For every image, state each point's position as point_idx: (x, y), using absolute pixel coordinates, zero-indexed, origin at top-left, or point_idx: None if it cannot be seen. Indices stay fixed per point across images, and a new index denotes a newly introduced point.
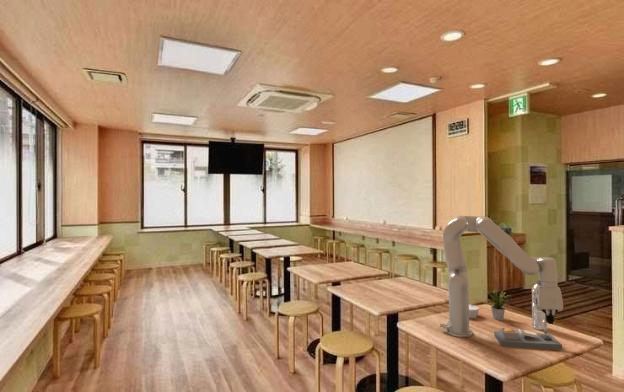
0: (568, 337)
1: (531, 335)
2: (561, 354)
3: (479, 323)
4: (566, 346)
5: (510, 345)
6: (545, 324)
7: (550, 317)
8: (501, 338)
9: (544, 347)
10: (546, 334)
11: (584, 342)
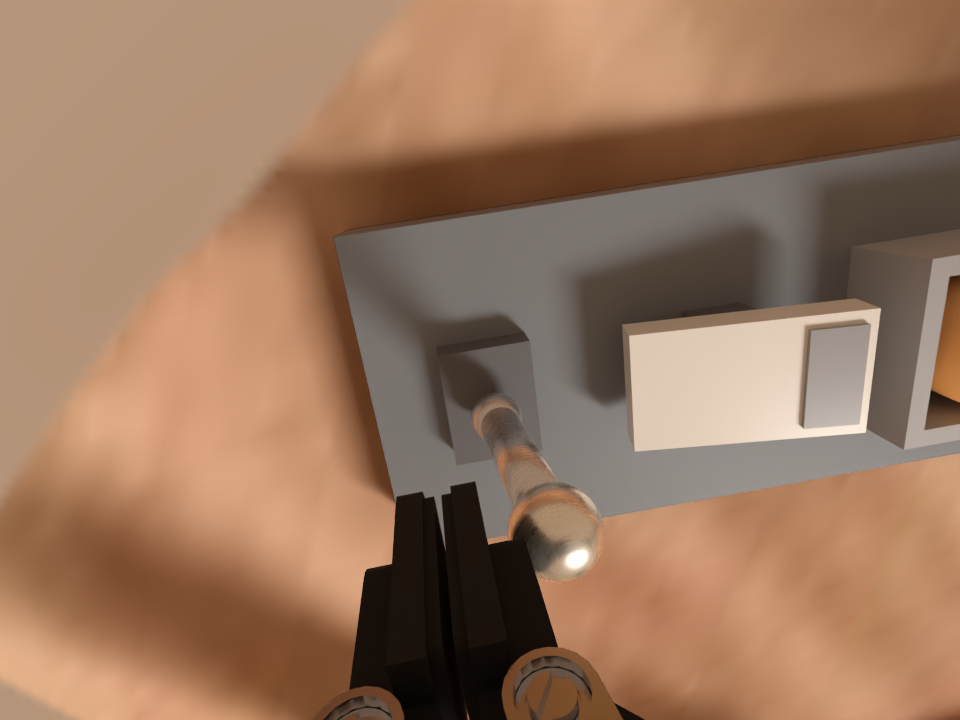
0: (214, 617)
1: (709, 321)
2: (381, 76)
3: (956, 676)
4: (275, 365)
5: (938, 140)
6: (539, 484)
7: (459, 600)
8: None
9: (548, 201)
10: (498, 398)
11: (66, 540)
